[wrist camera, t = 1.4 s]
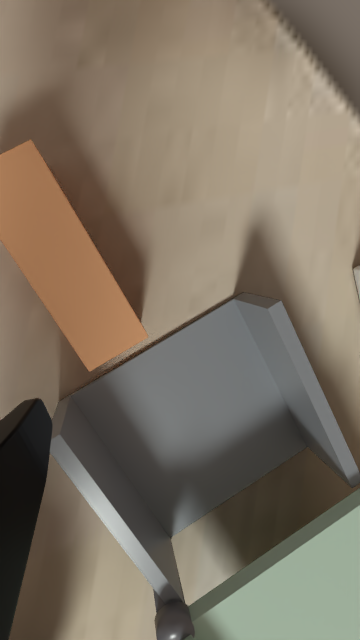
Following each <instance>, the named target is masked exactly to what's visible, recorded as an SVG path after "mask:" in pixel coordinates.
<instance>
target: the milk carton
mask: <svg viewBox="0 0 360 640" xmlns="http://www.w3.org/2000/svg"><path fill="white" fill-rule="evenodd" d="M353 271H354V276H355V281H356V286H357V290H358V295H359V300H360V266H357V267H355V268H354V269H353Z"/></svg>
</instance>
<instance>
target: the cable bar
mask: <svg viewBox="0 0 360 640" xmlns="http://www.w3.org/2000/svg"><path fill="white" fill-rule="evenodd" d="M0 240H1V241H2V243H3V244H4V246H5V247H6V249H7V250H8V251H9V253H10V254H11V256H12V257H13V259H14V260H15V262H16V263H17V265H18V266H19V268H20V269H21V271H22V272H23V274H24V275H25V277H26V278H27V280H28V281H29V283H30V284H31V286H32V287H33V289H34V290H35V292H36V293H37V295H38V296H39V298H40V299H41V301H42V302H43V304H44V305H45V307H46V308H47V310H48V311H49V313H50V314H51V316H52V317H53V319H54V320H55V322H56V323H57V325H58V326H59V328H60V329H61V331H62V332H63V334H64V335H65V337H66V338H67V340H68V341H69V342H70V344H71V345H72V347H73V348H74V350H75V351H76V353H77V354H78V356H79V357H80V359H81V360H82V362H83V363H84V365H85V366H86V368H87V369H88V371H89V372H90V371H92V370H93V369H95V368H97V367H99V366H100V365H102V364H104V363H105V362H107V361H109V360H110V359H112V358H114V357H116V356H117V355H119V354H121V353H122V352H124V351H126V350H127V349H129V348H131V347H132V346H134V345H136V344H138V343H139V342H141V341H143V340H144V339H146V338H148V335H147V333H146V331H145V329H144V327H143V326H142V324H141V322H140V320H139V319H138V317H137V315H136V314H135V312H134V310H133V308H132V307H131V305H130V303H129V302H128V300H127V298H126V297H125V295H124V293H123V292H122V290H121V288H120V287H119V285H118V283H117V282H116V280H115V278H114V277H113V275H112V273H111V271H110V270H109V268H108V266H107V265H106V263H105V261H104V260H103V258H102V256H101V255H100V253H99V251H98V250H97V248H96V246H95V245H94V243H93V241H92V240H91V238H90V236H89V234H88V233H87V231H86V229H85V228H84V226H83V224H82V223H81V221H80V219H79V218H78V216H77V214H76V213H75V211H74V209H73V208H72V206H71V204H70V202H69V201H68V199H67V197H66V196H65V194H64V192H63V191H62V189H61V187H60V186H59V184H58V182H57V181H56V179H55V177H54V176H53V174H52V172H51V171H50V169H49V167H48V165H47V164H46V162H45V161H44V159H43V158H42V156H41V154H40V153H39V151H38V150H37V148H36V147H35V145H34V143H33V142H32V140H31V139H30V140H28V141H26V142H24V143H22V144H20V145H18V146H16V147H14V148H12V149H10V150H8V151H6V152H4V153H2V154H0Z"/></svg>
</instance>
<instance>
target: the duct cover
mask: <svg viewBox="0 0 360 640" xmlns="http://www.w3.org/2000/svg"><path fill="white" fill-rule="evenodd" d="M155 628H156V636H157V640H360V488H359V489H357V490H356V491H355V492H353V493H352V494H350V495H349V496H347V497H346V498H344V499H343V500H342V501H340V502H339V503H337V504H336V505H334V506H333V507H331V508H330V509H329V510H327V511H326V512H324V513H323V514H321V515H320V516H318V517H317V518H316V519H314V520H313V521H311V522H310V523H308V524H307V525H305V526H304V527H302V528H301V529H300V530H298V531H297V532H295V533H294V534H292V535H291V536H289V537H288V538H287V539H285V540H284V541H282V542H281V543H279V544H278V545H276V546H275V547H274V548H272V549H271V550H269V551H268V552H266V553H265V554H263V555H262V556H261V557H259V558H258V559H256V560H255V561H253V562H252V563H250V564H249V565H248V566H246V567H245V568H243V569H242V570H240V571H239V572H237V573H236V574H235V575H233V576H232V577H230V578H229V579H227V580H226V581H224V582H223V583H222V584H220V585H219V586H217V587H216V588H214V589H213V590H211V591H210V592H208V593H207V594H206V595H204V596H203V597H201V598H200V599H198V600H197V601H195V602H194V603H193V604H191V605H190V606H187V605H186V604H185V603H183V602H171V603H168V604H166V605H164V606H163V607H162V608H161V609H160V610H159V611H158V612H157V614H156V617H155Z"/></svg>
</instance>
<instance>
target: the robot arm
mask: <svg viewBox="0 0 360 640" xmlns="http://www.w3.org/2000/svg"><path fill="white" fill-rule="evenodd" d="M52 429H53V424H52V420H51V418H50V416H49V413H48V411H47V409H46V407H45V405H44V403H43V401H42V400H41V399H39V398H35V399H30V400H25V401H23V402H22V403H21V404H20V405H18V406H17V407H16V408H15V409H14V410H12V411H11V412H10V413H9V414H8V415H6V416H5V417H4V418H3V419H2V420H1V421H0V640H8V639H9V635H10V631H11V627H12V623H13V618H14V614H15V610H16V606H17V601H18V597H19V593H20V589H21V585H22V580H23V576H24V572H25V568H26V564H27V559H28V555H29V551H30V547H31V542H32V538H33V534H34V530H35V526H36V521H37V517H38V513H39V509H40V504H41V500H42V496H43V492H44V487H45V483H46V477H47V470H48V462H49V454H50V446H51V438H52Z"/></svg>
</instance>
